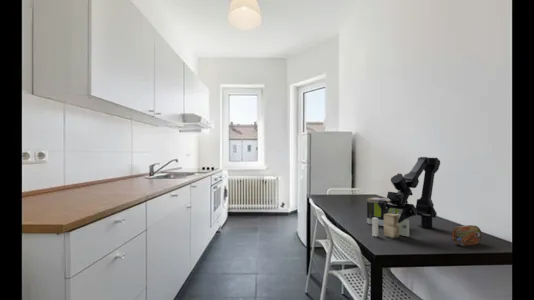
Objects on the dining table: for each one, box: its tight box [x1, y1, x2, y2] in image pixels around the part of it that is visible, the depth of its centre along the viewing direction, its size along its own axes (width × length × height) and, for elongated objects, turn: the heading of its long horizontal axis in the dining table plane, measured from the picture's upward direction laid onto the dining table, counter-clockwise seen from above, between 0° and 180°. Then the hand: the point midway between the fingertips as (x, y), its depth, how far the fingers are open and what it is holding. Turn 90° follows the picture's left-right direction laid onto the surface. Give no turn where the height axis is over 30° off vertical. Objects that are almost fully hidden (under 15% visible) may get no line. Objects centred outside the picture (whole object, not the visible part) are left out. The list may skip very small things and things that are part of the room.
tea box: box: [366, 197, 400, 227], centre depth 175 cm, size 15×10×15 cm, turn 45°
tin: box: [451, 224, 482, 247], centre depth 137 cm, size 15×3×8 cm, turn 106°
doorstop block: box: [383, 213, 400, 239], centre depth 149 cm, size 5×5×11 cm
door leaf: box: [399, 219, 410, 238], centre depth 152 cm, size 10×2×8 cm, turn 36°
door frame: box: [371, 213, 401, 238], centre depth 155 cm, size 22×2×9 cm, turn 126°
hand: (389, 220), depth 148 cm, fingers open, 9 cm apart
